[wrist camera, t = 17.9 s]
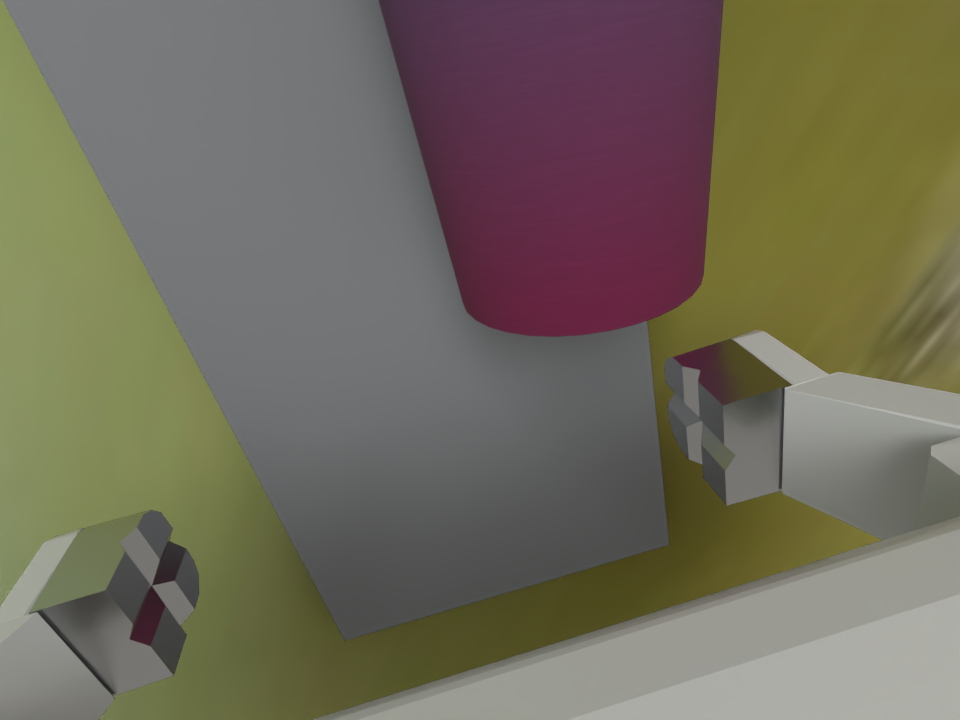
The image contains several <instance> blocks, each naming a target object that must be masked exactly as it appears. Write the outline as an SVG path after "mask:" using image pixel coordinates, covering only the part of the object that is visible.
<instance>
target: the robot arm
mask: <svg viewBox="0 0 960 720" xmlns="http://www.w3.org/2000/svg"><path fill="white" fill-rule="evenodd" d="M664 369H665V382H666V383H667V384H668V385H669V387H670V388H671V389H672V390H673V391H674V392H675V393H674V395H673V397H672V398H671V400H670V402H669V404H668V413H669V421H670V425H671V428H672V431H673V434H674V437H675V439H676V441H677V443H678V445H679V447H680V448H681V450H682V451H683V453H684V454H685V455H686V456H687V458H688V459H689V460H692V461H694V462H697V463H700V464H702V465H703V478H704V479H705V480H706V481H707V482H708V484H709V485H710V486H711V487H712V488H713V490H714V491H715V492H716V493H717V495H718V496H719V497H720V498H721V499H722V501H723V502H724V503H725V504H726V505H731V504H734V503H738V502H742V501H745V500H749V499H752V498H756V497H760V496H763V495H767V494H770V493H774V492H778V491H781V490H782V493H783V494H785V495H787V496H789V497H791V498H793V499H796V500H798V501H800V502H802V503H804V504H806V505H808V506H811V507H813V508H815V509H817V510H819V511H821V512H824V513H826V514H828V515H830V516H832V517H834V518H836V519H839V520H841V521H843V522H845V523H847V524H849V525H852V526H854V527H856V528H858V529H860V530H862V531H864V532H867V533H869V534H871V535H873V536H875V537H877V538H879V539H882V541H879V542H876V543H873V544H869V545H866V546H863V547H860V548H857V549H853V550H850V551H847V552H844V553H841V554H837V555H834V556H831V557H828V558H825V559H822V560H818V561H815V562H812V563H809V564H806V565H802V566H799V567H796V568H793V569H790V570H787V571H783V572H780V573H777V574H774V575H771V576H767V577H764V578H761V579H758V580H755V581H752V582H748V583H745V584H742V585H739V586H736V587H732V588H729V589H726V590H723V591H720V592H717V593H713V594H710V595H707V596H704V597H701V598H697V599H694V600H691V601H688V602H685V603H682V604H678V605H675V606H672V607H669V608H666V609H662V610H659V611H656V612H653V613H650V614H647V615H643V616H640V617H637V618H634V619H631V620H627V621H624V622H621V623H618V624H615V625H611V626H608V627H605V628H602V629H599V630H596V631H592V632H589V633H586V634H583V635H580V636H576V637H573V638H570V639H567V640H564V641H561V642H557V643H554V644H551V645H548V646H545V647H541V648H538V649H535V650H532V651H529V652H525V653H522V654H519V655H516V656H513V657H509V658H506V659H503V660H500V661H497V662H494V663H490V664H487V665H484V666H481V667H478V668H474V669H471V670H468V671H465V672H462V673H458V674H455V675H452V676H449V677H446V678H442V679H439V680H436V681H433V682H430V683H427V684H423V685H420V686H417V687H414V688H411V689H407V690H404V691H401V692H398V693H395V694H391V695H388V696H385V697H382V698H379V699H375V700H372V701H369V702H366V703H363V704H360V705H356V706H353V707H350V708H347V709H344V710H340V711H337V712H334V713H331V714H328V715H325V716H321V717H318V718H315V719H312V720H960V394H956V393H951V392H945V391H940V390H935V389H929V388H924V387H918V386H913V385H908V384H902V383H897V382H891V381H886V380H881V379H875V378H870V377H864V376H859V375H854V374H848V373H843V372H836V373H833V374H830V375H829V374H827V373H826V372H824V371H823V370H821V369H820V368H818V367H817V366H815V365H814V364H812V363H811V362H809V361H808V360H806V359H805V358H803V357H802V356H800V355H799V354H797V353H796V352H794V351H793V350H791V349H790V348H788V347H787V346H785V345H784V344H782V343H781V342H780V341H778V340H777V339H775V338H774V337H772V336H771V335H769V334H768V333H766V332H765V331H760V330H754V331H751V332H748V333H745V334H742V335H739V336H736V337H733V338H730V339H727V340H725V341H722V342H719V343H716V344H712V345H709V346H706V347H703V348H700V349H697V350H694V351H690V352H687V353H684V354H681V355H678V356H675V357H671V358H668V359H666V363H665V368H664ZM171 533H172V527H171V525H170V524H169V523H168V521H167V520H166V518H165V517H164V516H163V514H162V513H161V512H157V511H154V510H148V511H145V512H141V513H137V514H134V515H130V516H126V517H123V518H119V519H115V520H112V521H108V522H104V523H101V524H97V525H93V526H90V527H87V528H82V529H78V530H75V531H72V532H69V533H65V534H62V535H59V536H55V537H53V538H51V539H49V540H47V541H45V542H44V543H43V544H42V546H41V547H40V549H39V550H38V552H37V553H36V555H35V556H34V558H33V559H32V561H31V562H30V564H29V565H28V567H27V568H26V570H25V571H24V572H23V574H22V575H21V577H20V578H19V580H18V581H17V583H16V584H15V586H14V587H13V589H12V590H11V592H10V593H9V595H8V596H7V598H6V599H5V600H4V602H3V603H2V605H1V606H0V720H99V719H100V717H101V716H102V715H103V713H104V712H105V711H106V710H107V708H108V707H109V706H110V704H111V703H112V702H113V700H114V697H113V696H115V695H118V694H121V693H124V692H127V691H130V690H133V689H136V688H139V687H142V686H145V685H148V684H150V683H153V682H156V681H159V680H162V679H165V678H168V677H171V676H174V673H175V670H176V667H177V663H178V660H179V657H180V654H181V651H182V648H183V645H184V641H185V638H186V633H185V632H184V630H183V629H182V627H181V626H180V625H181V624H182V623H183V622H184V621H185V619H186V618H187V617H188V616H189V615H190V614H191V613H192V612H193V611H194V609H195V606H196V602H197V599H198V595H199V576H198V572H197V569H196V566H195V563H194V560H193V559H192V557H191V555H190V554H189V552H188V551H187V549H186V548H183V547H181V546H179V545H177V544H174V543H172V542H170V537H171Z"/></svg>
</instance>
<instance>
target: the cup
mask: <svg viewBox="0 0 960 720" xmlns="http://www.w3.org/2000/svg"><path fill="white" fill-rule="evenodd" d="M379 4H380V8H381V11H382V15H383V18H384V22H385V26H386V29H387V33H388V36H389V40H390V43H391V47H392V51H393V54H394V58H395V61H396V65H397V69H398V72H399V76H400V79H401V83H402V86H403V90H404V94H405V97H406V101H407V104H408V108H409V112H410V115H411V119H412V122H413V126H414V130H415V133H416V137H417V140H418V144H419V147H420V151H421V155H422V158H423V162H424V165H425V169H426V173H427V176H428V180H429V183H430V187H431V190H432V194H433V198H434V201H435V205H436V208H437V212H438V216H439V219H440V223H441V226H442V230H443V233H444V237H445V241H446V244H447V248H448V251H449V255H450V259H451V262H452V266H453V269H454V273H455V277H456V280H457V284H458V287H459V291H460V294H461V298H462V302H463V304H464V307H465V309H466V311H467V313H468V314H469V315H470V316H472V317H473V318H474V319H475V320H476V321H478V322H480V323H482V324H484V325H486V326H488V327H490V328H493V329H496V330H500V331H503V332H507V333H513V334H520V335H527V336H545V337H561V336H577V335H587V334H594V333H600V332H607V331H612V330H616V329H620V328H624V327H628V326H632V325H636V324H639V323H642V322H645V321H647V320H650V319H653V318H656V317H658V316H661V315H663V314H665V313H667V312H668V311H670V310H672V309H674V308H676V307H678V306H679V305H681V304H682V303H683V302H685V301H686V300H687V299H689V298H690V297H691V296H693V294H694V293H695V292H696V290H697V289H698V288H699V286H700V285H701V282H702V278H703V274H704V262H705V248H706V234H707V220H708V206H709V192H710V179H711V165H712V151H713V137H714V123H715V109H716V96H717V82H718V68H719V54H720V40H721V27H722V13H723V0H379Z"/></svg>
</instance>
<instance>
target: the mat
mask: <svg viewBox="0 0 960 720" xmlns="http://www.w3.org/2000/svg"><path fill="white" fill-rule="evenodd" d="M3 2H4V4H5V6H6V7H7V9H8V11H9V13H10V15H11V17H12V19H13V20H14V22H15V24H16V26H17V28H18V30H19V32H20V34H21V35H22V37H23V39H24V41H25V43H26V45H27V47H28V49H29V50H30V52H31V54H32V56H33V58H34V60H35V62H36V64H37V65H38V67H39V69H40V71H41V73H42V75H43V77H44V79H45V80H46V82H47V84H48V86H49V88H50V90H51V92H52V94H53V95H54V97H55V99H56V101H57V103H58V105H59V107H60V108H61V110H62V112H63V114H64V116H65V118H66V120H67V122H68V123H69V125H70V127H71V129H72V131H73V133H74V135H75V137H76V138H77V140H78V142H79V144H80V146H81V148H82V150H83V152H84V153H85V155H86V157H87V159H88V161H89V163H90V165H91V167H92V168H93V170H94V172H95V174H96V176H97V178H98V180H99V182H100V183H101V185H102V187H103V189H104V191H105V193H106V195H107V196H108V198H109V200H110V202H111V204H112V206H113V208H114V210H115V211H116V213H117V215H118V217H119V219H120V221H121V223H122V225H123V226H124V228H125V230H126V232H127V234H128V236H129V238H130V240H131V241H132V243H133V245H134V247H135V249H136V251H137V253H138V255H139V256H140V258H141V260H142V262H143V264H144V266H145V268H146V270H147V271H148V273H149V275H150V277H151V279H152V281H153V283H154V284H155V286H156V288H157V290H158V292H159V294H160V296H161V298H162V299H163V301H164V303H165V305H166V307H167V309H168V311H169V313H170V314H171V316H172V318H173V320H174V322H175V324H176V326H177V328H178V329H179V331H180V333H181V335H182V337H183V339H184V341H185V343H186V344H187V346H188V348H189V350H190V352H191V354H192V356H193V358H194V359H195V361H196V363H197V365H198V367H199V369H200V371H201V372H202V374H203V376H204V378H205V380H206V382H207V384H208V386H209V387H210V389H211V391H212V393H213V395H214V397H215V399H216V401H217V402H218V404H219V406H220V408H221V410H222V412H223V414H224V416H225V417H226V419H227V421H228V423H229V425H230V427H231V429H232V431H233V432H234V434H235V436H236V438H237V440H238V442H239V444H240V446H241V447H242V449H243V451H244V453H245V455H246V457H247V459H248V460H249V462H250V464H251V466H252V468H253V470H254V472H255V474H256V475H257V477H258V479H259V481H260V483H261V485H262V487H263V489H264V490H265V492H266V494H267V496H268V498H269V500H270V502H271V504H272V505H273V507H274V509H275V511H276V513H277V515H278V517H279V519H280V520H281V522H282V524H283V526H284V528H285V530H286V532H287V534H288V535H289V537H290V539H291V541H292V543H293V545H294V547H295V548H296V550H297V552H298V554H299V556H300V558H301V560H302V562H303V563H304V565H305V567H306V569H307V571H308V573H309V575H310V577H311V578H312V580H313V582H314V584H315V586H316V588H317V590H318V592H319V593H320V595H321V597H322V599H323V601H324V603H325V605H326V607H327V608H328V610H329V612H330V614H331V616H332V618H333V620H334V622H335V623H336V625H337V627H338V629H339V631H340V633H341V635H342V636H343V638H344V640H345V641H346V640H349V639H352V638H356V637H359V636H362V635H366V634H369V633H373V632H376V631H379V630H383V629H386V628H390V627H393V626H396V625H400V624H403V623H406V622H410V621H413V620H417V619H420V618H423V617H427V616H430V615H434V614H437V613H440V612H444V611H447V610H450V609H454V608H457V607H461V606H464V605H467V604H471V603H474V602H478V601H481V600H484V599H488V598H491V597H494V596H498V595H501V594H505V593H508V592H511V591H515V590H518V589H522V588H525V587H528V586H532V585H535V584H538V583H542V582H545V581H549V580H552V579H555V578H559V577H562V576H566V575H569V574H572V573H576V572H579V571H582V570H586V569H589V568H593V567H596V566H599V565H603V564H606V563H610V562H613V561H616V560H620V559H623V558H626V557H630V556H633V555H637V554H640V553H643V552H647V551H650V550H654V549H657V548H660V547H664V546H667V545H669V537H668V527H667V517H666V507H665V497H664V487H663V476H662V466H661V456H660V446H659V436H658V426H657V416H656V406H655V396H654V386H653V376H652V366H651V356H650V346H649V336H648V326H647V321H645V322H642V323H639V324H636V325H632V326H628V327H624V328H620V329H616V330H612V331H607V332H600V333H594V334H587V335H577V336H561V337H545V336H527V335H520V334H513V333H507V332H503V331H500V330H496V329H493V328H490V327H488V326H486V325H484V324H482V323H480V322H478V321H476V320H475V319H474V318H473V317H472V316H470V315H469V314H468V313H467V311H466V309H465V307H464V304H463V302H462V298H461V294H460V291H459V287H458V284H457V280H456V277H455V273H454V269H453V266H452V262H451V259H450V255H449V251H448V248H447V244H446V241H445V237H444V233H443V230H442V226H441V223H440V219H439V216H438V212H437V208H436V205H435V201H434V198H433V194H432V190H431V187H430V183H429V180H428V176H427V173H426V169H425V165H424V162H423V158H422V155H421V151H420V147H419V144H418V140H417V137H416V133H415V130H414V126H413V122H412V119H411V115H410V112H409V108H408V104H407V101H406V97H405V94H404V90H403V86H402V83H401V79H400V76H399V72H398V69H397V65H396V61H395V58H394V54H393V51H392V47H391V43H390V40H389V36H388V33H387V29H386V26H385V22H384V18H383V15H382V11H381V8H380V4H379V0H3Z"/></svg>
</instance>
